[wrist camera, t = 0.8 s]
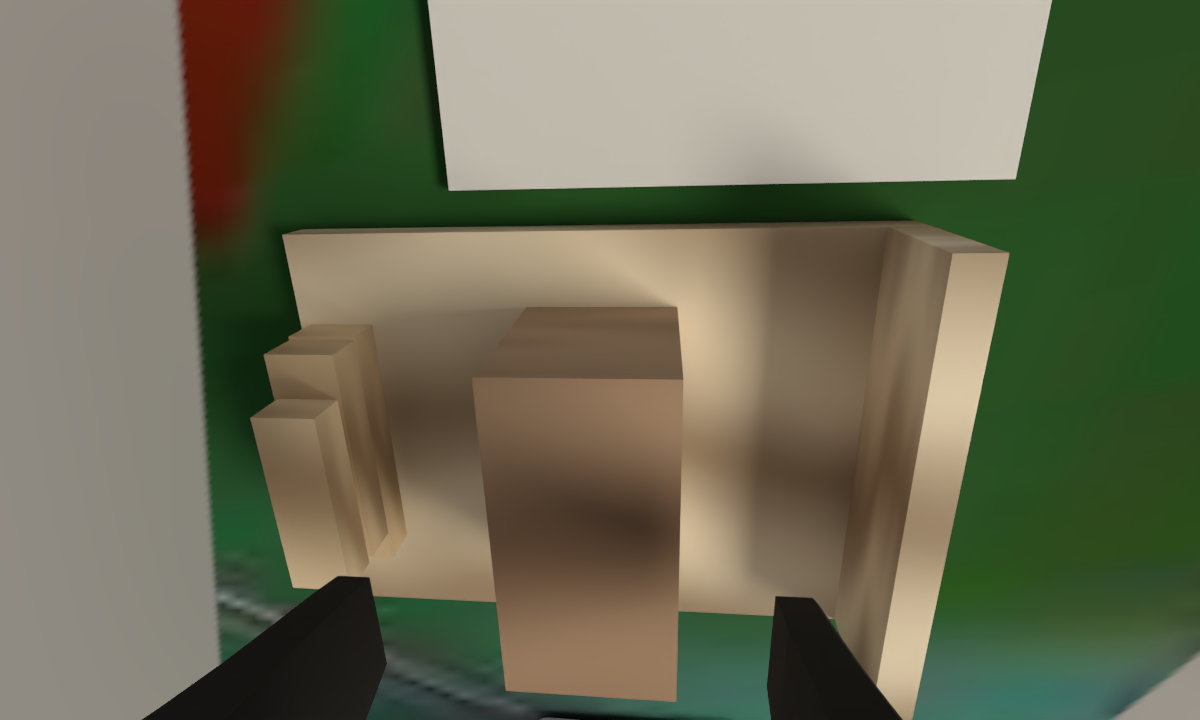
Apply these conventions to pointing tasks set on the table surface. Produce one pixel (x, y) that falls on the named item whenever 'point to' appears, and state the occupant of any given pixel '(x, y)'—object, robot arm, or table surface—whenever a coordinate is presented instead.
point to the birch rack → (703, 399)
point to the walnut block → (585, 498)
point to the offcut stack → (329, 454)
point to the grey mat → (732, 90)
